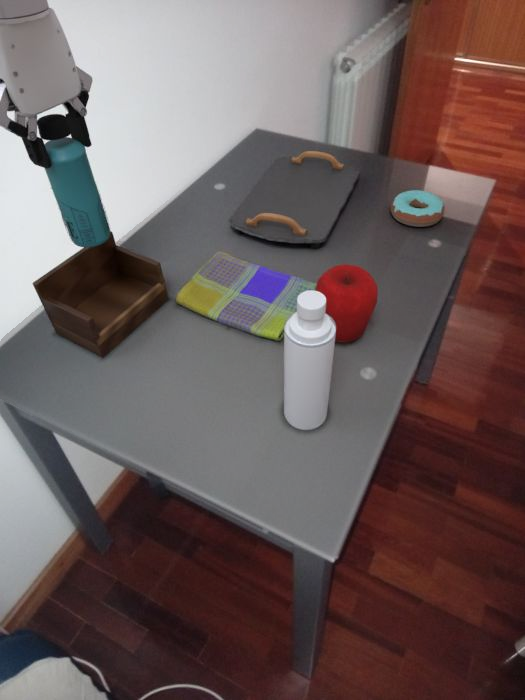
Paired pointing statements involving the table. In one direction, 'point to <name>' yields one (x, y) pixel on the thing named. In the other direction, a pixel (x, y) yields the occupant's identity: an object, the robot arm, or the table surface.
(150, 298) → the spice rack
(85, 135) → the robot arm
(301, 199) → the serving tray
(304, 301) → the spray bottle
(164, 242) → the table surface
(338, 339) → the apple
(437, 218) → the donut
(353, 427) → the table surface
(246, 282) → the dish towel
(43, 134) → the beverage bottle
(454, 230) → the table surface
